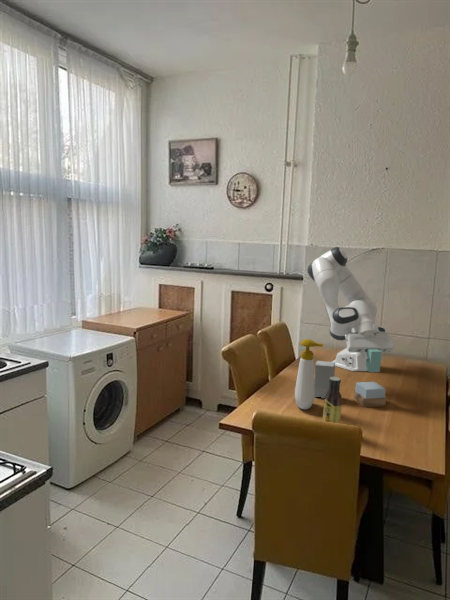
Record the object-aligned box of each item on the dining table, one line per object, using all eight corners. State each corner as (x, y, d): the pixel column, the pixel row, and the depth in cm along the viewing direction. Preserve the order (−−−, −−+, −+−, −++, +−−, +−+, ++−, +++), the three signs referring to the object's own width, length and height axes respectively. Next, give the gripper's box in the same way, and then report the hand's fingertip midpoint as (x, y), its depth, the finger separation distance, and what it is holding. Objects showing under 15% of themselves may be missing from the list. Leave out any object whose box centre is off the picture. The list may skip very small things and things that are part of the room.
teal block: (365, 368, 191) (366, 348, 189) (375, 368, 191) (376, 348, 190) (369, 372, 186) (371, 351, 185) (379, 372, 187) (381, 351, 186)
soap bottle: (319, 414, 176) (324, 344, 172) (293, 411, 178) (297, 342, 174) (318, 402, 189) (323, 336, 184) (294, 400, 191) (298, 335, 186)
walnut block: (353, 398, 196) (354, 390, 195) (374, 398, 197) (375, 389, 196) (362, 407, 186) (363, 398, 185) (385, 407, 187) (386, 398, 186)
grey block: (355, 391, 194) (355, 382, 193) (373, 390, 196) (374, 381, 195) (365, 398, 185) (366, 389, 185) (384, 397, 187) (385, 388, 186)
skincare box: (333, 395, 198) (336, 361, 195) (332, 400, 191) (334, 366, 189) (314, 392, 201) (317, 359, 198) (312, 397, 194) (315, 363, 191)
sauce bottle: (319, 425, 166) (323, 375, 163) (335, 425, 166) (339, 375, 163) (325, 433, 159) (328, 380, 156) (341, 433, 160) (345, 381, 157)
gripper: (346, 328, 192) (353, 356, 184) (390, 328, 194) (399, 356, 186) (341, 336, 197) (348, 363, 189) (384, 336, 199) (393, 363, 191)
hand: (374, 359), depth 188 cm, fingers closed on teal block, 4 cm apart
